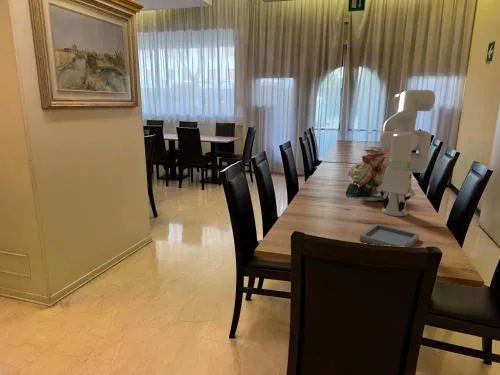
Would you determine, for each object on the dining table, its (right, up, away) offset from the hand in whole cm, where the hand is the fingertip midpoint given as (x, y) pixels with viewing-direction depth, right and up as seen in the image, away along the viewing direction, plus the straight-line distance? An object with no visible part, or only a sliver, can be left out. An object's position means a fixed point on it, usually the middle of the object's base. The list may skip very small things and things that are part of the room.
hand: (393, 208), depth 136 cm
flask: (0, -2, 0) cm, 2 cm away
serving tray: (0, -13, +4) cm, 14 cm away
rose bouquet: (+15, +3, +68) cm, 69 cm away
